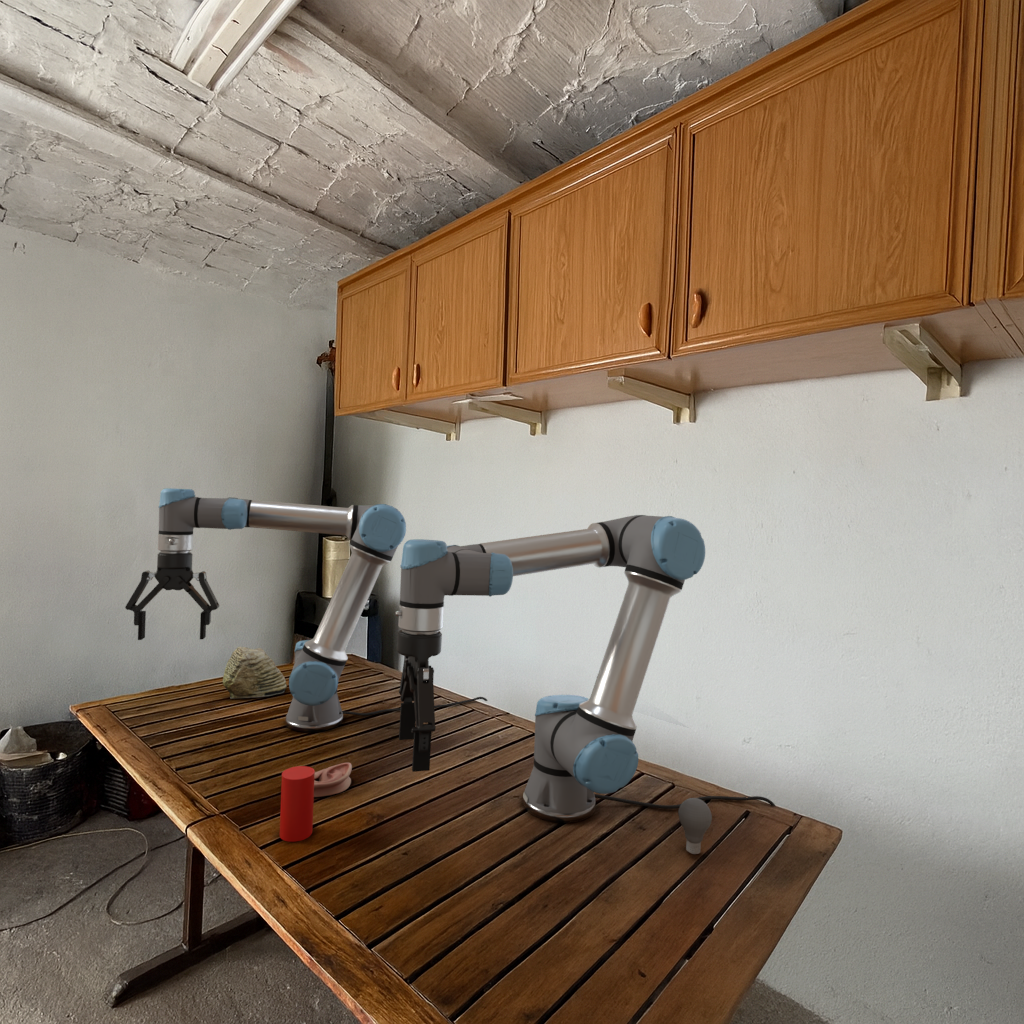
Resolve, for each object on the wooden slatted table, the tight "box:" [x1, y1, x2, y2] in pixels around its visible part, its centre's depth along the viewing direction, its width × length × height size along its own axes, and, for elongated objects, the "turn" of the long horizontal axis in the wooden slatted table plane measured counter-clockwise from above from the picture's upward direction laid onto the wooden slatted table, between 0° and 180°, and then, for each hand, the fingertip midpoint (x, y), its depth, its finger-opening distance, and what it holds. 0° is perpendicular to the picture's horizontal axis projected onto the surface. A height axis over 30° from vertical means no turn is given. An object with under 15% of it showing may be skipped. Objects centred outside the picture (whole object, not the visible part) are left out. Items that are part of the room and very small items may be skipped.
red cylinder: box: [279, 765, 316, 843], centre depth 119 cm, size 6×6×12 cm
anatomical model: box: [314, 762, 353, 798], centre depth 138 cm, size 13×4×12 cm
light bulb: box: [677, 797, 713, 855], centre depth 118 cm, size 6×6×10 cm
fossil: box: [222, 646, 288, 699], centre depth 198 cm, size 9×18×15 cm, turn 132°
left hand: (172, 638), depth 155 cm, fingers open, 13 cm apart
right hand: (413, 753), depth 108 cm, fingers open, 13 cm apart
